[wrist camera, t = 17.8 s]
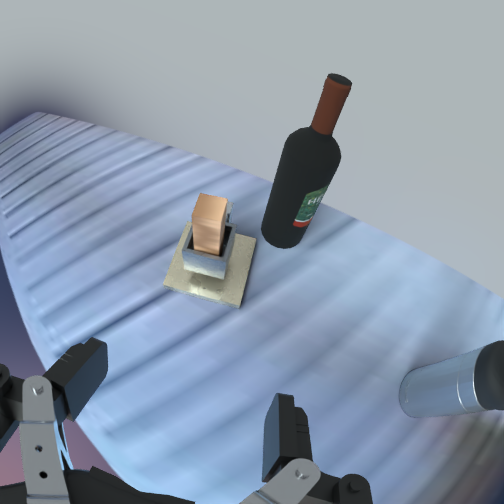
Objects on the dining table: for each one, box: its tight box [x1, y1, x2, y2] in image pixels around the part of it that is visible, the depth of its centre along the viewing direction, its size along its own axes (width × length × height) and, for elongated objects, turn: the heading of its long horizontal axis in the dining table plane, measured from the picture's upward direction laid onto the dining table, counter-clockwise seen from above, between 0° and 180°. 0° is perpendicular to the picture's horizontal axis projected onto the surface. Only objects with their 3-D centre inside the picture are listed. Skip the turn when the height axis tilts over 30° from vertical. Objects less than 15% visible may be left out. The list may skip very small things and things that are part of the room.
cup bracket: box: [163, 201, 256, 309], centre depth 42 cm, size 12×12×10 cm
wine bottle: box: [261, 74, 352, 249], centre depth 38 cm, size 8×8×30 cm
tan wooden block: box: [192, 193, 228, 257], centre depth 36 cm, size 3×3×12 cm
